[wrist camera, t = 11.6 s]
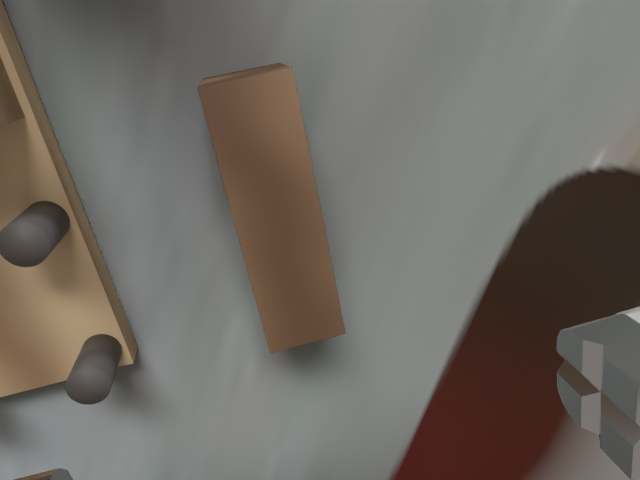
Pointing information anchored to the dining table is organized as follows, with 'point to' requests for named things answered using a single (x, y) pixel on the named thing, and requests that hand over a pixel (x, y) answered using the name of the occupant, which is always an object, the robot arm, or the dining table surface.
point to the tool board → (49, 256)
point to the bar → (274, 202)
